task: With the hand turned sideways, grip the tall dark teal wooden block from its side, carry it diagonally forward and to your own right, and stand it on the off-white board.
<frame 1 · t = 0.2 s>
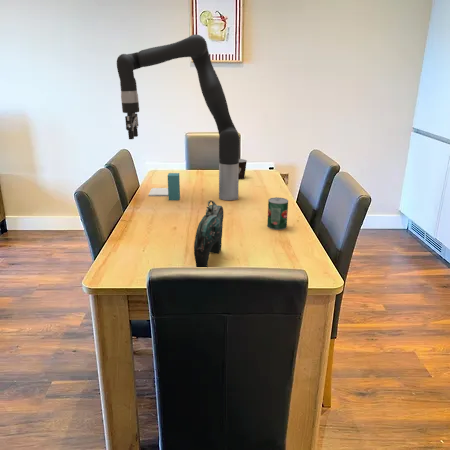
hand: (133, 137, 206), 28 cm above the table, tool pointing down, fingers open, 8 cm apart
teal block: (174, 198, 214), on the table
white board: (162, 192, 223), on the table
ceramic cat: (210, 260, 149), on the table
canned tomato: (276, 226, 179), on the table
coffee mug: (236, 177, 253), on the table
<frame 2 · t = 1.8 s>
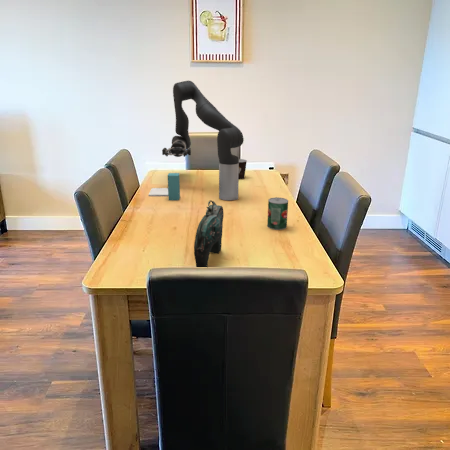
hand: (175, 154, 218), 19 cm above the table, tool horizontal, fingers open, 8 cm apart
nothing on the table moved.
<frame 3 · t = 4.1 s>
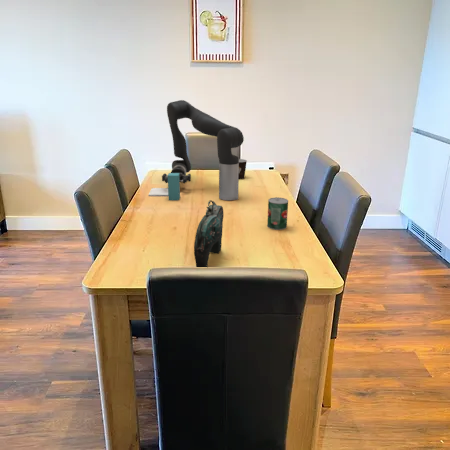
hand: (175, 181, 217), 7 cm above the table, tool horizontal, fingers open, 8 cm apart
nothing on the table moved.
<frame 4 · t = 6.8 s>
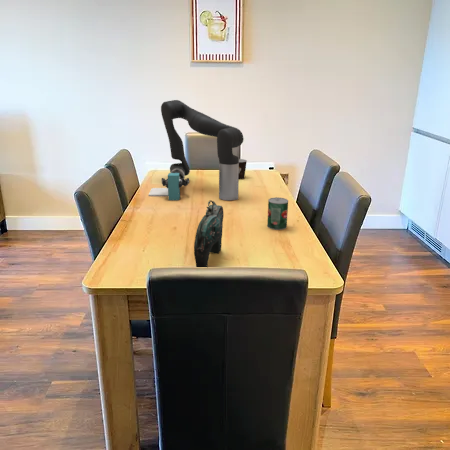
hand: (173, 186, 209), 7 cm above the table, tool horizontal, fingers closed on teal block, 5 cm apart
teal block: (174, 198, 214), on the table, touching gripper
everything else where it was.
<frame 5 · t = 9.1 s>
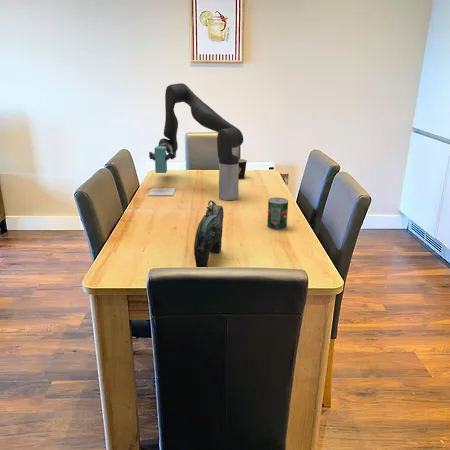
hand: (160, 158, 214), 18 cm above the table, tool horizontal, fingers closed on teal block, 5 cm apart
teal block: (161, 171, 219), point 11 cm above the table, touching gripper
everything else where it was.
when the fingers open (9 cm above the table, at t = 11.5 s): teal block drops 1 cm, resting on white board.
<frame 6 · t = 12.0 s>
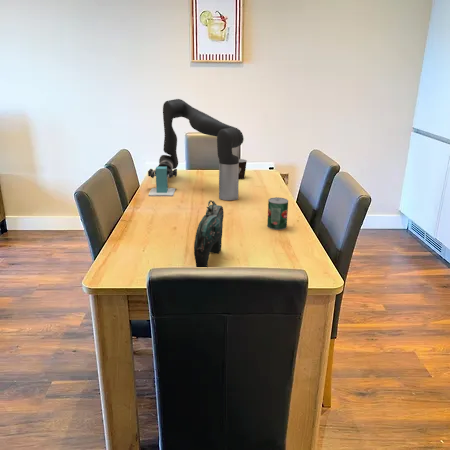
hand: (161, 176, 218), 9 cm above the table, tool horizontal, fingers open, 8 cm apart
teal block: (162, 191, 223), point 1 cm above the table, touching white board
everything else where it was.
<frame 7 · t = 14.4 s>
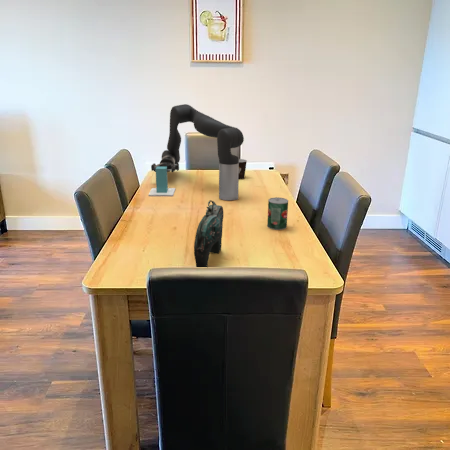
hand: (163, 170, 227), 10 cm above the table, tool horizontal, fingers open, 8 cm apart
nothing on the table moved.
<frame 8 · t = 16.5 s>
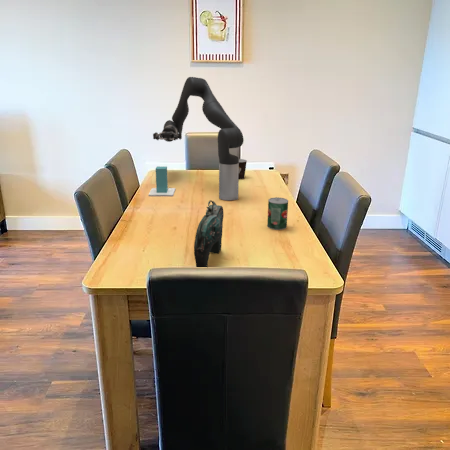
hand: (166, 138, 221), 26 cm above the table, tool horizontal, fingers open, 8 cm apart
nothing on the table moved.
at the end: teal block inside the target area on the white board (0.0 cm from its centre), point 0.8 cm above the white board's base; teal block tilted 0°; the gripper is holding nothing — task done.
